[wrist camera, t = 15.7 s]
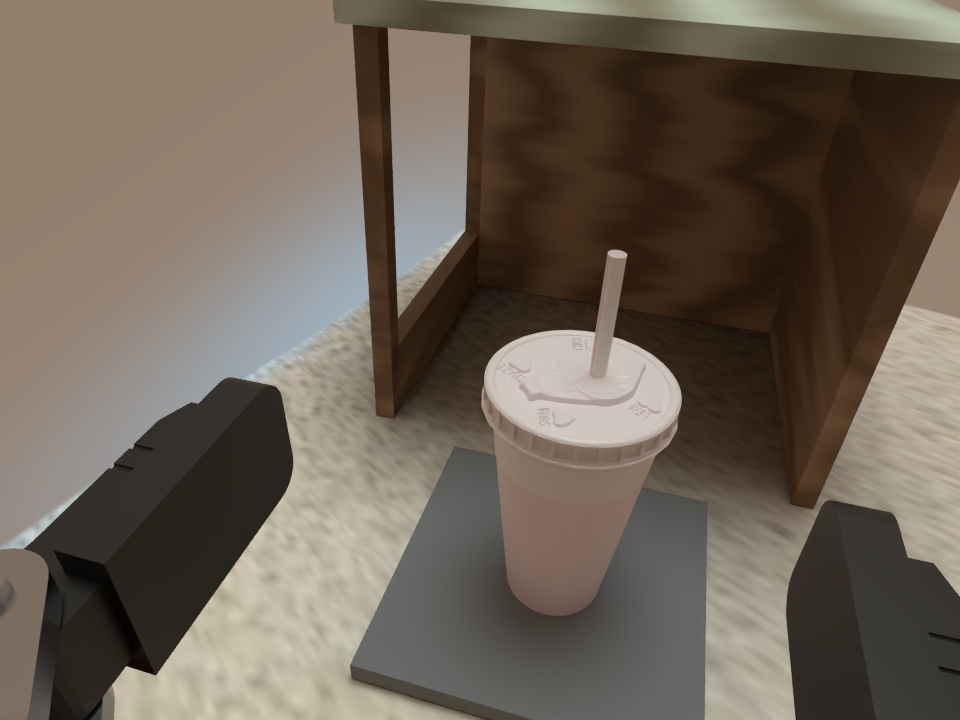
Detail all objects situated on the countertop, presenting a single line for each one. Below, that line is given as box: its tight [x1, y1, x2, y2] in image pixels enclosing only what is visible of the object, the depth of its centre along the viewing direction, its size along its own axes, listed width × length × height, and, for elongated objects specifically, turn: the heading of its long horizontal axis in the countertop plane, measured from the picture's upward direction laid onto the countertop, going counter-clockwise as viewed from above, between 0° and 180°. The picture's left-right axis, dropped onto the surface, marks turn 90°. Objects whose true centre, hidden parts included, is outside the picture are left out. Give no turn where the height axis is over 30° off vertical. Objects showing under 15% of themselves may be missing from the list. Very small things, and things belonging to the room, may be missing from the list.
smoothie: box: [481, 250, 682, 616], centre depth 23 cm, size 6×6×14 cm
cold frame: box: [333, 0, 960, 509], centre depth 35 cm, size 23×18×20 cm
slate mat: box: [350, 447, 707, 720], centre depth 28 cm, size 12×12×1 cm
